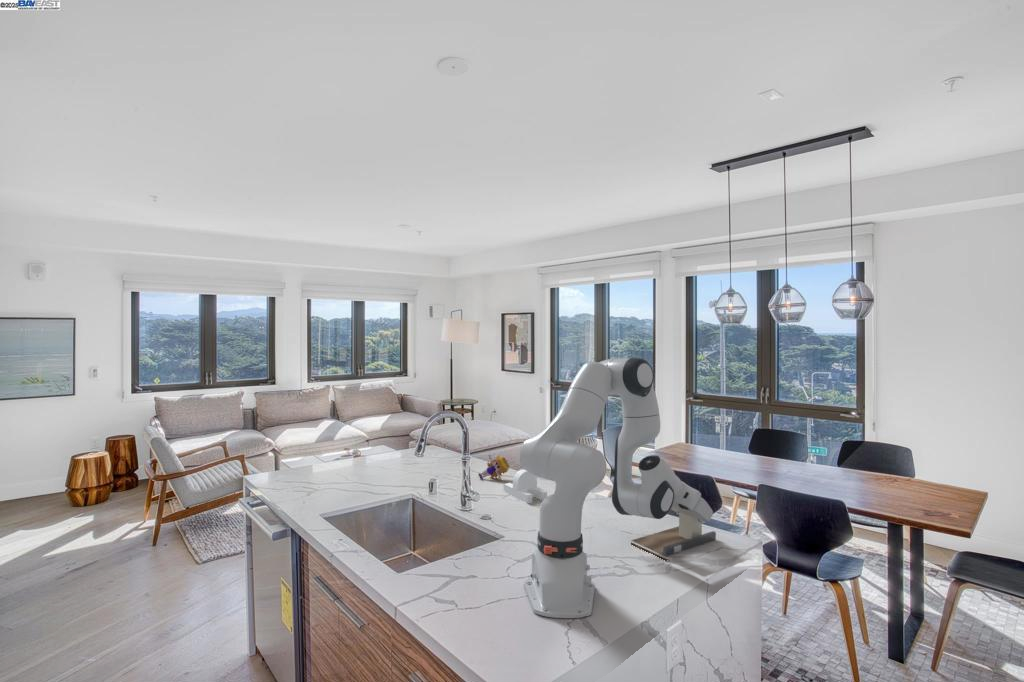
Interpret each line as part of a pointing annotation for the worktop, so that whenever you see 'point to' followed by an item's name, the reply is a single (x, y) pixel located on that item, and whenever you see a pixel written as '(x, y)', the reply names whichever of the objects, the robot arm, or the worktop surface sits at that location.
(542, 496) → the tape dispenser
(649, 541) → the spiral bound notebook
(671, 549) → the price rail
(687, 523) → the carton
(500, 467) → the toy
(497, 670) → the worktop surface
